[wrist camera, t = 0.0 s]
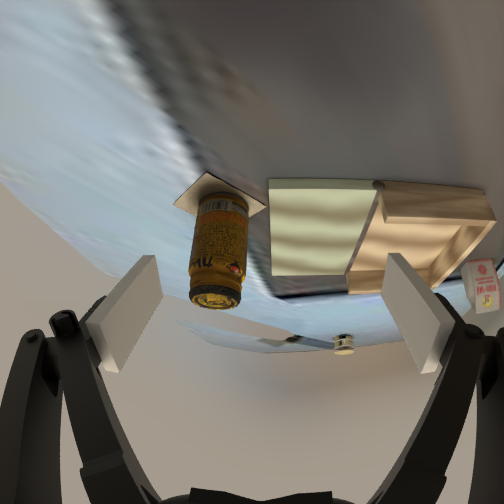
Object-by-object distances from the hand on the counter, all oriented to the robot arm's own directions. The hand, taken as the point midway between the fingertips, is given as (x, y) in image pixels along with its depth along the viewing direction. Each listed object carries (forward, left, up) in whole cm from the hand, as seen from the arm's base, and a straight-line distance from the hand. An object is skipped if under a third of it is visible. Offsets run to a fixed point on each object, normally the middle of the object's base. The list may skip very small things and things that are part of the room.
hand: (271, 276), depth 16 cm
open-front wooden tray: (+18, +14, -15) cm, 27 cm away
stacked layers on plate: (+76, +22, -16) cm, 81 cm away
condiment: (+12, -6, -16) cm, 21 cm away
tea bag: (+29, +41, -16) cm, 52 cm away
